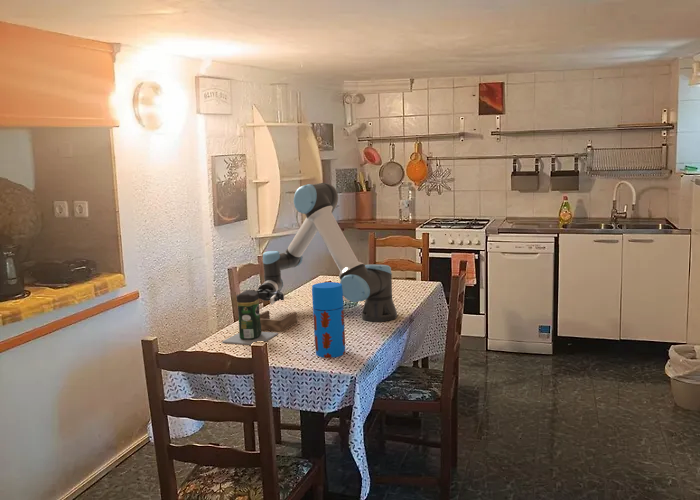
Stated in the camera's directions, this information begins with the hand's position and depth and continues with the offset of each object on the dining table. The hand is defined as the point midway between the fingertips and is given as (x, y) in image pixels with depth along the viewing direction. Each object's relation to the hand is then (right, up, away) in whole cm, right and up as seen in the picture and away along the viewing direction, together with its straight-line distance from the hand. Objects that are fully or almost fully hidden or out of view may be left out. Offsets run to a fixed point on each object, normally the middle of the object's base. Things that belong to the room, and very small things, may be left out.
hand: (255, 301), depth 273 cm
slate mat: (-1, -14, -8) cm, 16 cm away
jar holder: (+7, -11, +11) cm, 17 cm away
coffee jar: (-1, -13, -7) cm, 15 cm away
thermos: (+32, -16, -31) cm, 48 cm away
